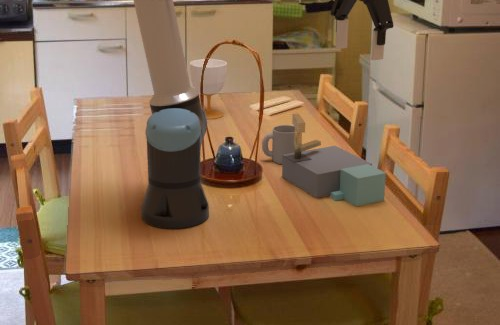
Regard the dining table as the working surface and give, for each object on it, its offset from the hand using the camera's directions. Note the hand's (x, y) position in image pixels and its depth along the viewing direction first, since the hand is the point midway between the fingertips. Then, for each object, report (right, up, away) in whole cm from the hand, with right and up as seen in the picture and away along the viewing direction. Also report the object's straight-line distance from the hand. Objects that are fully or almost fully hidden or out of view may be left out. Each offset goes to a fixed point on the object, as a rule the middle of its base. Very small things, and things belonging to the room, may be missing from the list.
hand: (358, 53), depth 183 cm
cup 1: (-38, -10, +76) cm, 85 cm away
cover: (+1, -33, +10) cm, 35 cm away
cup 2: (-16, -24, +36) cm, 46 cm away
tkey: (-10, -23, +20) cm, 32 cm away
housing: (-6, -29, +21) cm, 36 cm away
